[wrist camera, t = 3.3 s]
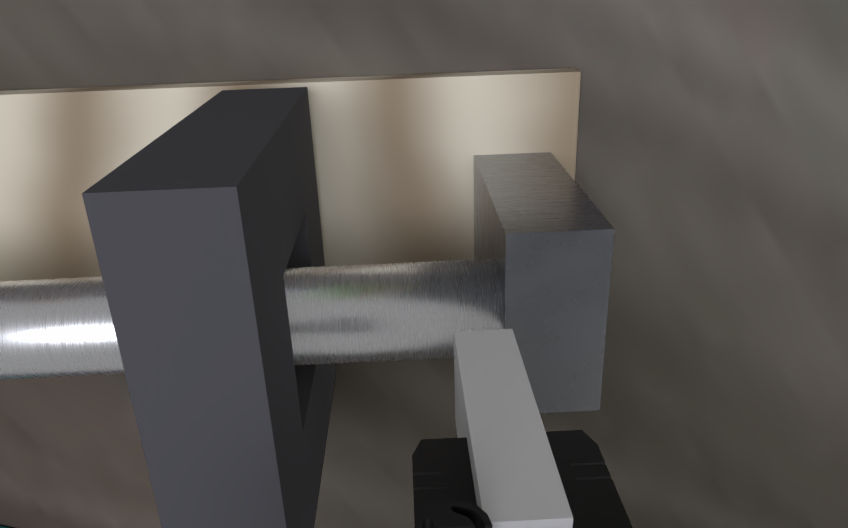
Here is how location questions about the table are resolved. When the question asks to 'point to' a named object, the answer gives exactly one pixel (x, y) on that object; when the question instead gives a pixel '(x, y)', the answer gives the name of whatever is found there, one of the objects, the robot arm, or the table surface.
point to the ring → (219, 309)
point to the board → (333, 153)
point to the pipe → (397, 296)
